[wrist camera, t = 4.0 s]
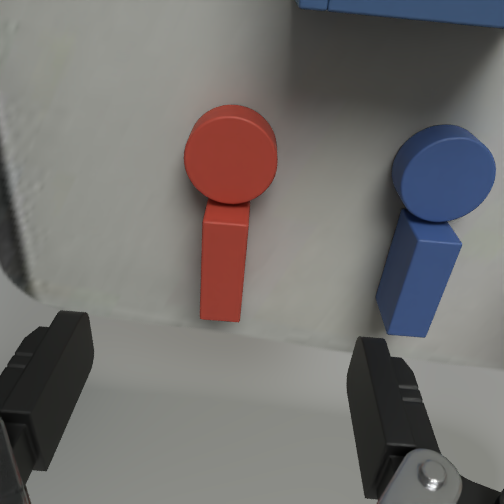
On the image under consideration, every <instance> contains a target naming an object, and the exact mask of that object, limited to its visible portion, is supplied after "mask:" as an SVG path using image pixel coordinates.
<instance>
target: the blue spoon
mask: <svg viewBox="0 0 504 504" xmlns="http://www.w3.org/2000/svg"><path fill="white" fill-rule="evenodd" d="M495 173H496V167H495V161H494V158H493V156H492V154H491V152H490V151H489V149H488V148H487V147H486V146H485V145H484V144H483V143H481V142H480V141H479V140H478V139H477V138H476V137H475V136H474V135H472V134H471V133H470V132H469V131H467V130H466V129H464V128H461V127H458V126H455V125H437V126H432V127H429V128H426V129H424V130H422V131H420V132H418V133H416V134H415V135H413V136H412V137H411V138H409V139H408V140H407V141H406V142H405V143H404V145H403V146H402V147H401V148H400V150H399V152H398V153H397V155H396V157H395V160H394V163H393V167H392V180H393V184H394V187H395V189H396V191H397V193H398V195H399V196H400V198H401V200H402V202H403V204H404V205H405V207H406V208H407V209H402V210H401V213H400V217H399V220H398V223H397V227H396V230H395V233H394V237H393V240H392V244H391V247H390V250H389V254H388V257H387V261H386V264H385V267H384V271H383V274H382V277H381V281H380V284H379V288H378V291H377V294H376V301H377V304H378V307H379V310H380V313H381V316H382V320H383V323H384V326H385V329H386V332H387V334H388V335H399V336H411V337H423V338H424V337H426V335H427V332H428V330H429V327H430V325H431V322H432V320H433V317H434V315H435V312H436V310H437V307H438V305H439V302H440V300H441V297H442V295H443V292H444V290H445V287H446V284H447V282H448V279H449V277H450V274H451V272H452V269H453V267H454V264H455V262H456V259H457V257H458V254H459V252H460V249H461V247H462V243H461V241H460V240H459V238H458V237H457V235H456V234H455V232H454V231H453V229H452V228H451V226H450V225H449V223H448V222H447V221H451V220H454V219H457V218H460V217H462V216H464V215H466V214H468V213H470V212H471V211H473V210H474V209H475V208H476V207H478V206H479V205H480V204H481V203H482V202H483V201H484V199H485V198H486V197H487V195H488V194H489V192H490V190H491V188H492V186H493V183H494V180H495Z"/></svg>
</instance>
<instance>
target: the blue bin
mask: <svg viewBox="0 0 504 504" xmlns="http://www.w3.org/2000/svg"><path fill="white" fill-rule="evenodd" d="M295 2H296V3H297V5H298V7H299V8H300V9H307V10H317V11H326V10H328V11H329V12H338V13H348V14H358V15H368V16H379V17H389V18H399V19H409V20H420V21H430V22H440V23H450V24H461V25H471V26H481V27H492V28H502V29H504V0H295Z"/></svg>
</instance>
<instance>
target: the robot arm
mask: <svg viewBox="0 0 504 504" xmlns="http://www.w3.org/2000/svg"><path fill="white" fill-rule="evenodd" d="M93 359H94V347H93V340H92V334H91V327H90V320H89V316H88V314H87V313H86V312H74V311H63V310H61V311H59V312H58V313H57V315H56V317H55V318H54V320H53V321H52V323H51V325H50V327H38V328H37V329H36V330H34V331H33V332H32V333H30V334H29V335H28V336H27V337H25V338H24V340H23V341H22V343H21V344H20V346H19V347H18V349H17V350H16V352H15V355H14V356H13V357H12V358H11V360H10V361H9V363H8V365H7V367H6V368H5V369H4V371H3V372H2V374H1V375H0V504H31V501H30V498H29V494H28V491H27V488H26V482H27V480H28V478H29V476H30V474H31V472H32V470H37V471H47V469H48V467H49V465H50V462H51V460H52V458H53V456H54V453H55V451H56V449H57V447H58V444H59V442H60V440H61V437H62V435H63V433H64V430H65V428H66V426H67V423H68V421H69V419H70V417H71V414H72V412H73V410H74V407H75V405H76V403H77V401H78V398H79V396H80V394H81V392H82V389H83V387H84V385H85V382H86V380H87V378H88V375H89V373H90V371H91V368H92V364H93ZM347 395H348V401H349V407H350V413H351V419H352V425H353V431H354V436H355V442H356V448H357V454H358V460H359V466H360V471H361V478H362V483H363V489H364V495H365V498H367V499H368V498H369V499H378V502H377V504H504V489H503V491H502V492H498V491H496V490H493V489H490V488H488V487H485V486H483V485H480V484H477V483H475V482H472V481H470V480H468V479H466V478H464V477H463V476H461V475H460V474H459V472H458V471H457V469H456V468H455V466H454V465H453V464H452V463H451V462H450V461H449V460H448V459H447V458H446V457H444V456H443V455H442V454H441V452H440V450H439V447H438V444H437V441H436V438H435V435H434V433H433V430H432V426H431V423H430V420H429V417H428V415H427V412H426V409H425V406H424V403H422V397H421V394H420V391H419V390H418V385H417V382H416V379H415V376H414V373H413V371H412V370H411V369H410V367H409V366H408V365H407V364H406V363H405V361H404V360H403V359H402V358H399V357H390V353H389V350H388V347H387V343H386V341H385V339H383V338H373V337H361V336H359V337H358V338H357V340H356V344H355V347H354V351H353V354H352V358H351V362H350V365H349V369H348V373H347Z"/></svg>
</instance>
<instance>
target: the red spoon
mask: <svg viewBox="0 0 504 504" xmlns="http://www.w3.org/2000/svg"><path fill="white" fill-rule="evenodd" d="M184 165H185V169H186V172H187V175H188V177H189V179H190V181H191V182H192V184H193V185H194V186H195V187H196V189H197V190H198V191H200V192H201V193H202V194H203V195H205V196H206V197H208V201H207V205H206V210H205V214H204V218H203V222H202V256H201V292H200V319H204V320H216V321H228V322H239V321H240V314H241V303H242V292H243V281H244V270H245V260H246V249H247V238H248V227H249V212H250V200H252V199H254V198H256V197H258V196H259V195H261V194H262V193H263V192H264V191H265V190H266V189H267V188H268V187H269V185H270V184H271V183H272V181H273V179H274V176H275V173H276V170H277V144H276V138H275V135H274V132H273V130H272V128H271V126H270V125H269V124H268V122H267V121H266V120H265V119H264V118H263V117H262V116H261V115H260V114H258V113H257V112H255V111H254V110H252V109H249V108H247V107H244V106H239V105H223V106H219V107H216V108H214V109H211V110H210V111H208V112H206V113H205V114H204V115H203V116H202V117H201V118H200V119H199V120H198V121H197V122H196V124H195V125H194V127H193V129H192V131H191V134H190V136H189V139H188V141H187V144H186V146H185V151H184Z"/></svg>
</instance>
